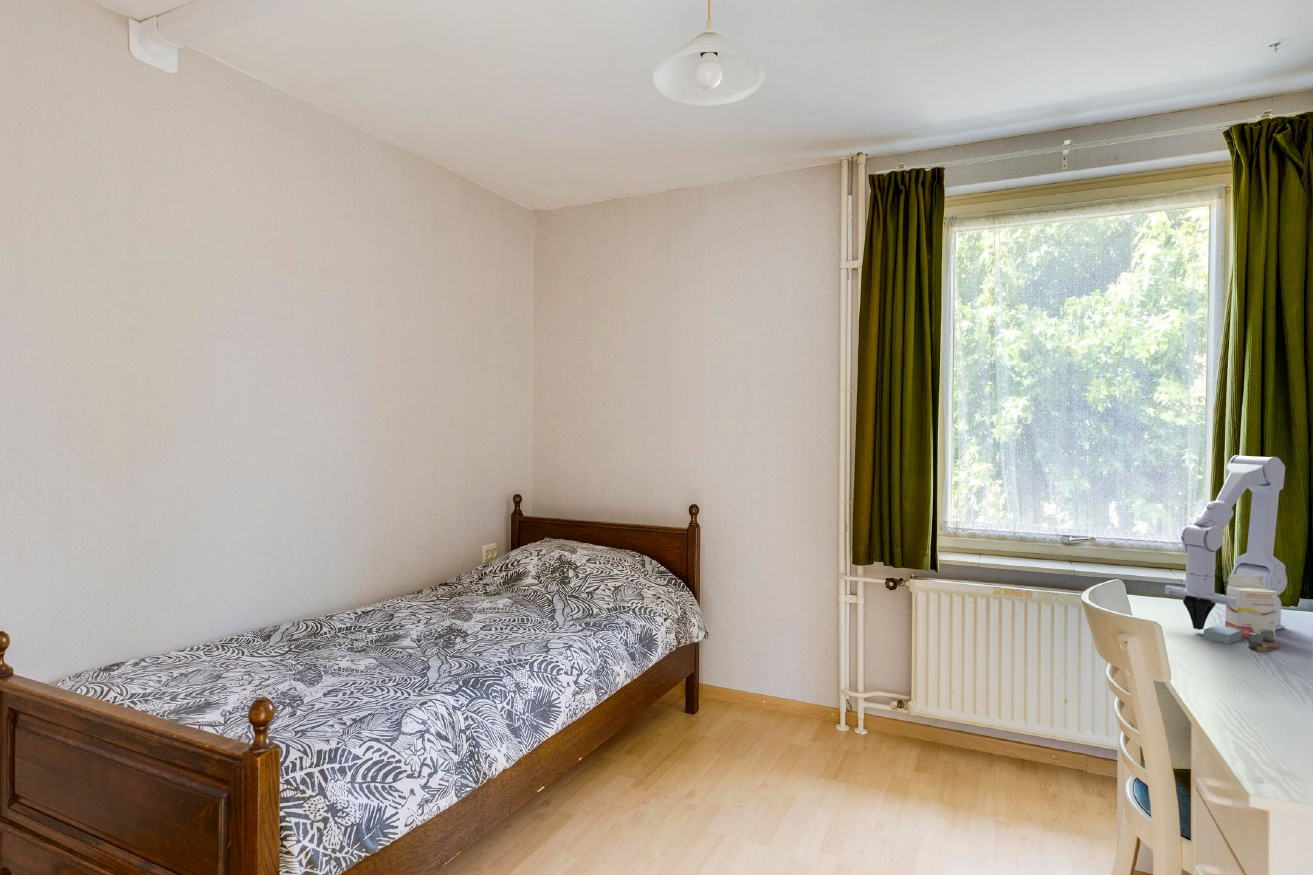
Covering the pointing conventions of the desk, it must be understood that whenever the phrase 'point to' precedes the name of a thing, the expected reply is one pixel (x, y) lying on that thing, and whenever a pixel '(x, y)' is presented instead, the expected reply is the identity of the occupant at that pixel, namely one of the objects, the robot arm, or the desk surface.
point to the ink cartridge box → (1250, 605)
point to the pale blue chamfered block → (1222, 634)
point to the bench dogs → (1262, 641)
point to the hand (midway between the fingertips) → (1198, 628)
